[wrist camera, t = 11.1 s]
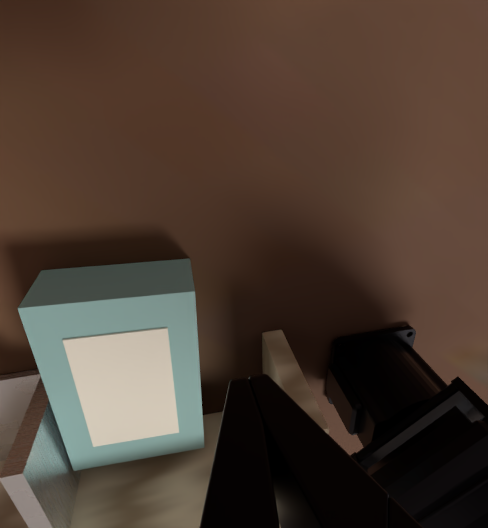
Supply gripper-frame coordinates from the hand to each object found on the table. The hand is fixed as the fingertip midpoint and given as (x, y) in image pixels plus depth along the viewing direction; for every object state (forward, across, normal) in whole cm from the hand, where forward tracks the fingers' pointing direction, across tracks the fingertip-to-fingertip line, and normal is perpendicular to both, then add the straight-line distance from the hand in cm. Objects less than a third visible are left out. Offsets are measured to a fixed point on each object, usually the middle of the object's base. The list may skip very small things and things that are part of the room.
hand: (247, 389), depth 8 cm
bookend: (+13, +13, +13) cm, 22 cm away
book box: (+13, +5, +9) cm, 17 cm away
